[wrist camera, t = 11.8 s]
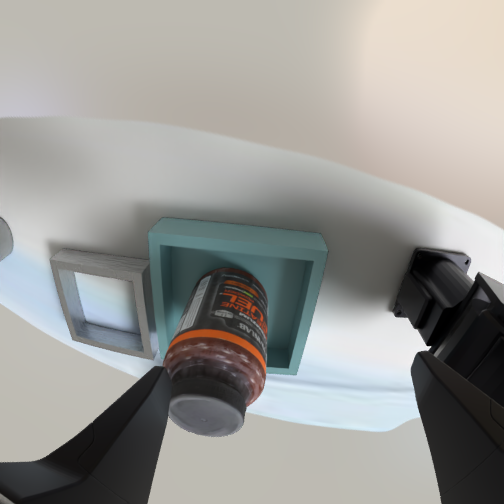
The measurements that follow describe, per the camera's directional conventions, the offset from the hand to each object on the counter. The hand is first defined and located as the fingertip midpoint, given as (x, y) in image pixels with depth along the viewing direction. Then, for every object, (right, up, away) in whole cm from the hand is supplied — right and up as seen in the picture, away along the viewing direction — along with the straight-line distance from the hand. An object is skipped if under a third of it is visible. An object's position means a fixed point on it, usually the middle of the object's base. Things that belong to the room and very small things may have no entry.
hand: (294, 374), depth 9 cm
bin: (-3, +1, +14) cm, 14 cm away
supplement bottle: (-3, +1, +14) cm, 14 cm away
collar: (-14, 0, +15) cm, 21 cm away
